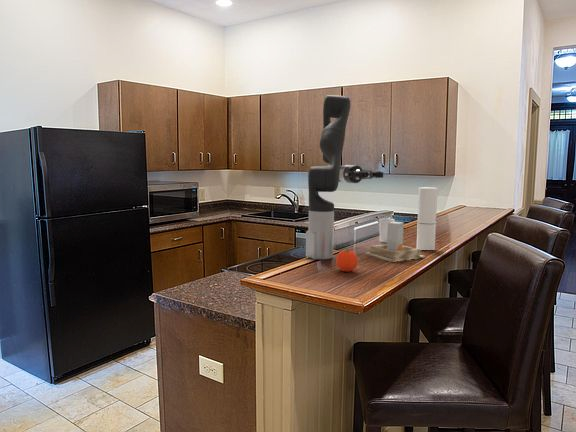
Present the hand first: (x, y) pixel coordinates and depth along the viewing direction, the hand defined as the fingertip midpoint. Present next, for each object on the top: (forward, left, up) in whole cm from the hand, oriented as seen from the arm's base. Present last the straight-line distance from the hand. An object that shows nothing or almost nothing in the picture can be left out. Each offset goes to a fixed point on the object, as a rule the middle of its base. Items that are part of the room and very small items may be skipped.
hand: (374, 175), depth 177 cm
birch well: (0, -14, -30) cm, 33 cm away
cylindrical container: (+21, -8, -30) cm, 38 cm away
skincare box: (0, -13, -29) cm, 32 cm away
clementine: (-30, -25, -30) cm, 49 cm away
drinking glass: (+19, +14, -30) cm, 38 cm away
